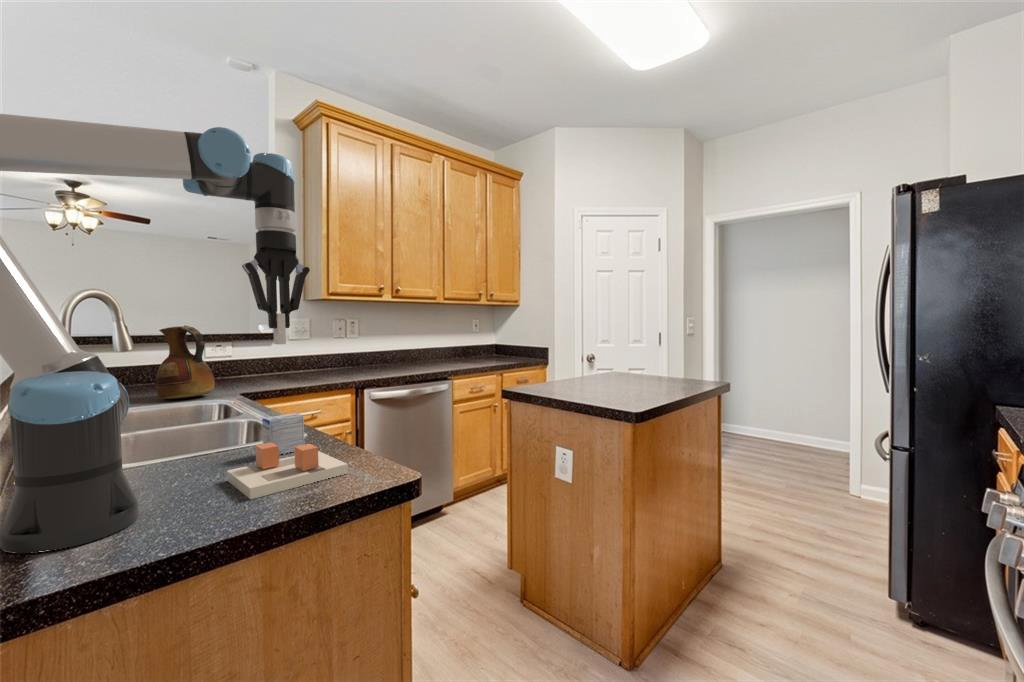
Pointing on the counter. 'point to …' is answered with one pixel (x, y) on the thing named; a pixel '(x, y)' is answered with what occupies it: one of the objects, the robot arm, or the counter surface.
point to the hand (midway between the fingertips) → (279, 343)
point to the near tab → (306, 457)
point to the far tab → (267, 455)
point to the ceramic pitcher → (183, 367)
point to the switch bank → (283, 476)
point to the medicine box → (284, 431)
